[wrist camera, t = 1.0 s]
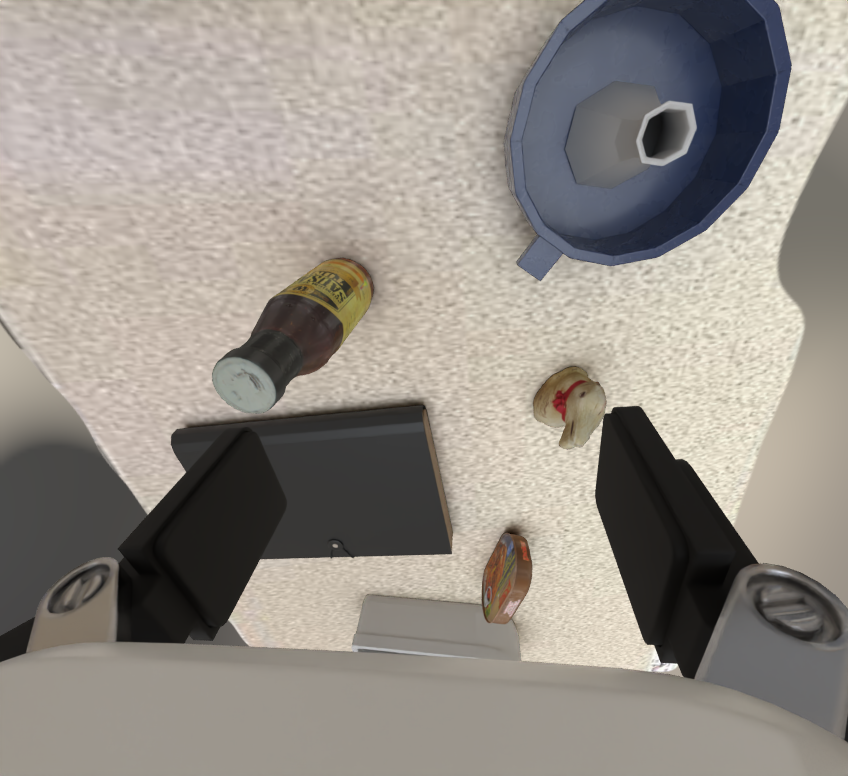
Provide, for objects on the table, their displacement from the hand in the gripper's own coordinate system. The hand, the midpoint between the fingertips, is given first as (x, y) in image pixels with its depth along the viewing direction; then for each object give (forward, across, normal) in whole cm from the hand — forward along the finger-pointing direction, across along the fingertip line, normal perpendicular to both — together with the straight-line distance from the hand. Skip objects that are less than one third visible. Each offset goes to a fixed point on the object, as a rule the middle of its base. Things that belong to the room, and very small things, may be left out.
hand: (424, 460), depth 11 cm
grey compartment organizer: (+31, +10, +67) cm, 75 cm away
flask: (+30, -13, -6) cm, 33 cm away
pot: (+30, -13, -6) cm, 33 cm away
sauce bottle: (+30, +12, +3) cm, 33 cm away
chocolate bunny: (+31, -10, +17) cm, 37 cm away
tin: (+31, -2, +46) cm, 56 cm away
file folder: (+31, +22, +30) cm, 48 cm away
